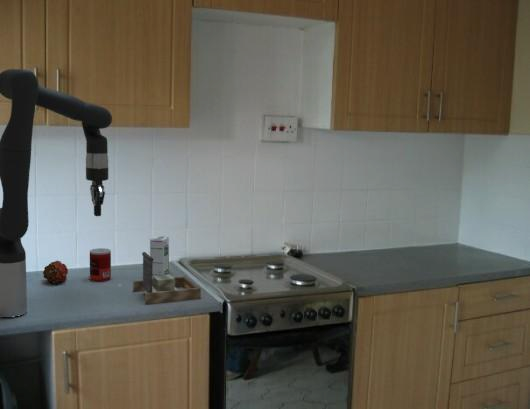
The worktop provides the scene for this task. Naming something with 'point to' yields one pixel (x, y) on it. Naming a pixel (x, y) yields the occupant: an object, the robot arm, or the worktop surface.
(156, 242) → the syrup box
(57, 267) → the dragon fruit
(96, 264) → the canned food
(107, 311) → the worktop surface
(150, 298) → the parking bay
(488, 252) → the worktop surface
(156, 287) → the grey l-shaped piece
